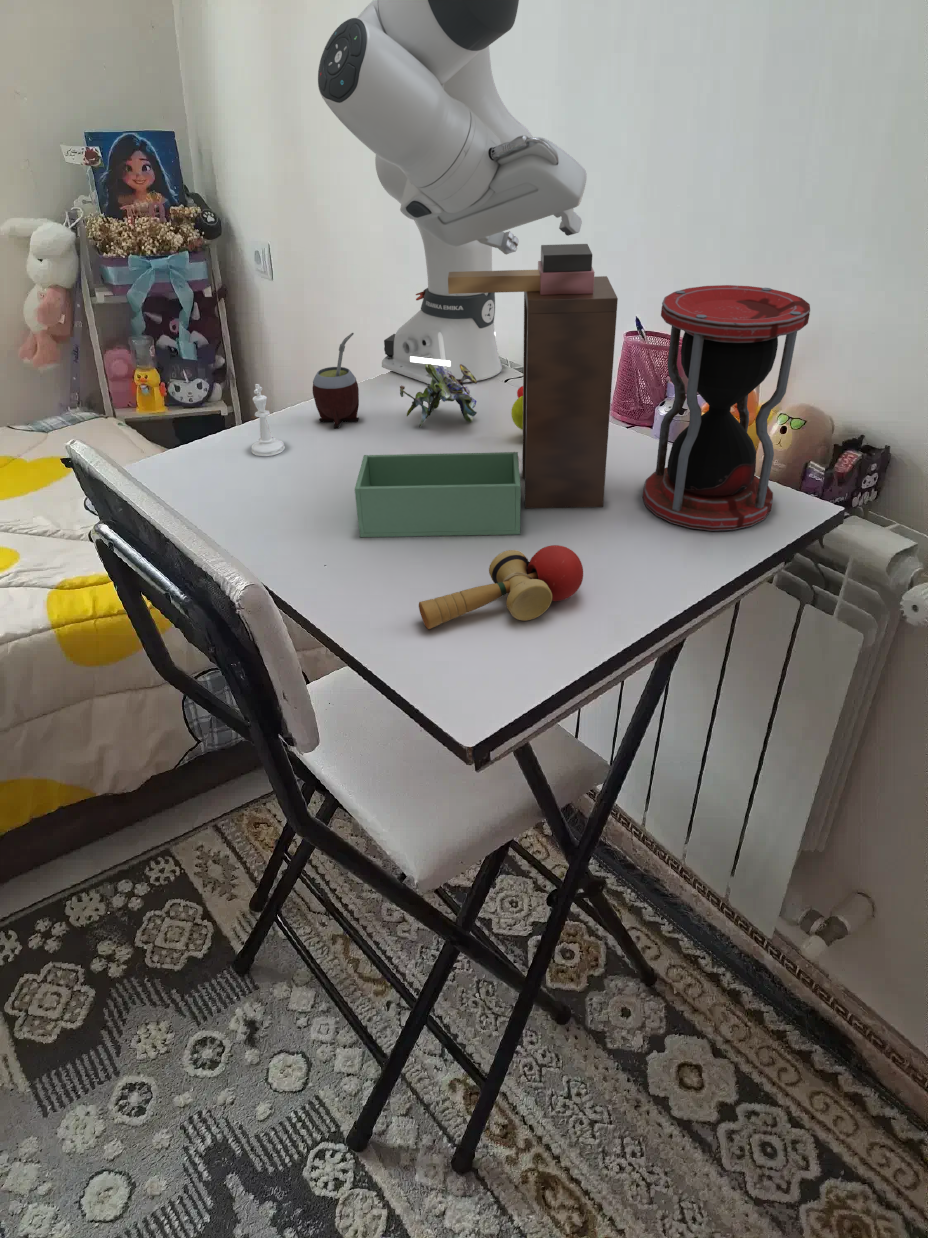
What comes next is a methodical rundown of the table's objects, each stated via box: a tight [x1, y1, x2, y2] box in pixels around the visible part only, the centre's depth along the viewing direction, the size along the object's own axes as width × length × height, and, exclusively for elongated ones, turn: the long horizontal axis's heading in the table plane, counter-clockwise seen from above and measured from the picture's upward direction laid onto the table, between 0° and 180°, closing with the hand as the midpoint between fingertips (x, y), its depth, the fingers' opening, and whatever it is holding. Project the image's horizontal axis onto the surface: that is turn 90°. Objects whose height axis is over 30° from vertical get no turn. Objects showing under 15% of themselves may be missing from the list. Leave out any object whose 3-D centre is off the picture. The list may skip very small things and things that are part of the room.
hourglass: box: [641, 284, 811, 532], centre depth 104 cm, size 16×16×25 cm
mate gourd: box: [312, 332, 360, 430], centre depth 132 cm, size 8×8×15 cm
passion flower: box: [399, 364, 478, 428], centre depth 133 cm, size 11×11×12 cm
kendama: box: [418, 544, 584, 630], centre depth 90 cm, size 8×6×18 cm
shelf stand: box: [521, 275, 619, 509], centre depth 107 cm, size 10×10×26 cm
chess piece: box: [251, 383, 286, 457], centre depth 126 cm, size 5×5×10 cm
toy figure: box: [510, 385, 523, 431], centre depth 127 cm, size 18×6×7 cm, turn 0°
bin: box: [354, 451, 522, 538], centre depth 107 cm, size 20×10×7 cm, turn 89°
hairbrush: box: [448, 243, 595, 295], centre depth 99 cm, size 16×6×4 cm, turn 89°
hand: (543, 238), depth 98 cm, fingers open, 8 cm apart
